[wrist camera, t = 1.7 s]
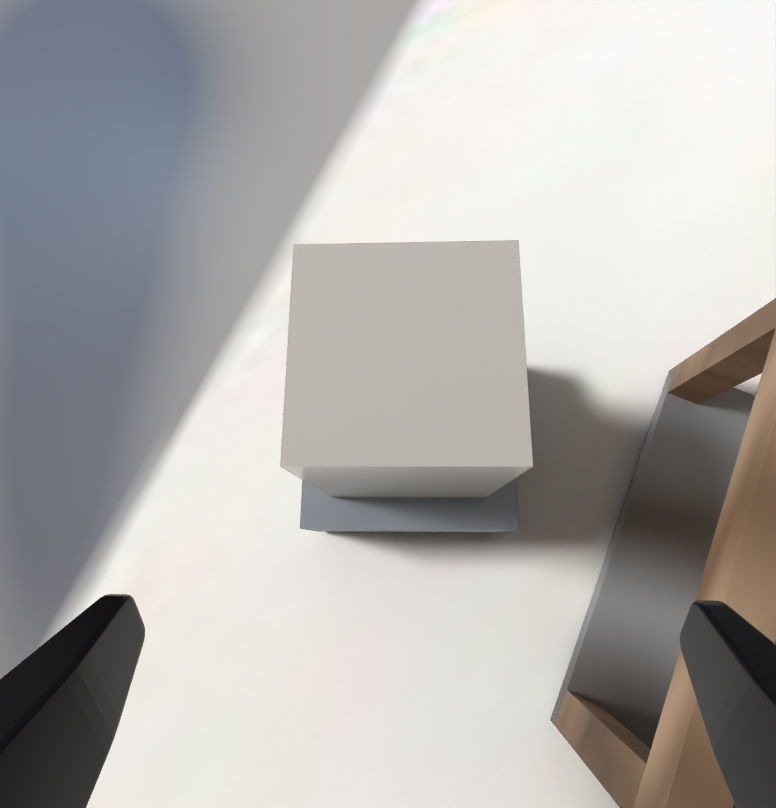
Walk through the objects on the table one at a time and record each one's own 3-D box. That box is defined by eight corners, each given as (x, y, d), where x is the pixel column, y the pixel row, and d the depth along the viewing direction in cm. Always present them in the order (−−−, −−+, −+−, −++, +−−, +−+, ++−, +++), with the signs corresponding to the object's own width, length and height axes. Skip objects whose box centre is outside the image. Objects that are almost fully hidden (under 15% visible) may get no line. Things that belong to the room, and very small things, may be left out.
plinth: (500, 532, 20) (518, 529, 17) (318, 531, 20) (299, 528, 17) (492, 359, 22) (506, 325, 19) (325, 360, 22) (309, 327, 19)
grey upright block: (485, 497, 17) (533, 466, 10) (331, 497, 17) (280, 466, 11) (479, 352, 18) (518, 240, 12) (336, 353, 19) (293, 244, 12)
